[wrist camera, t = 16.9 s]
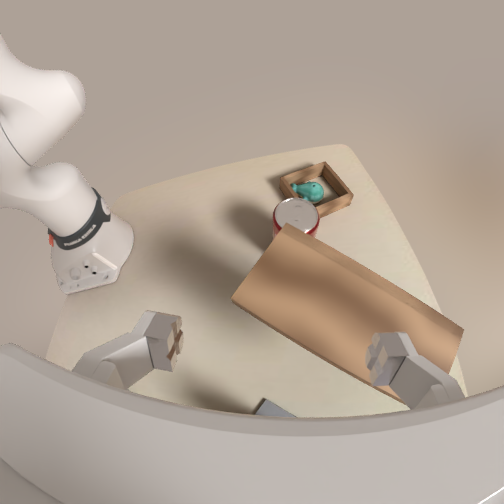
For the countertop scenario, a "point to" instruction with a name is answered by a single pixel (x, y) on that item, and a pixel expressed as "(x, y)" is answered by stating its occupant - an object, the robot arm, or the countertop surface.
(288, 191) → the walnut frame
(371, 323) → the walnut shelf
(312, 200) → the whale figurine
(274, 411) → the slate coaster
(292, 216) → the soda can
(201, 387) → the countertop surface
